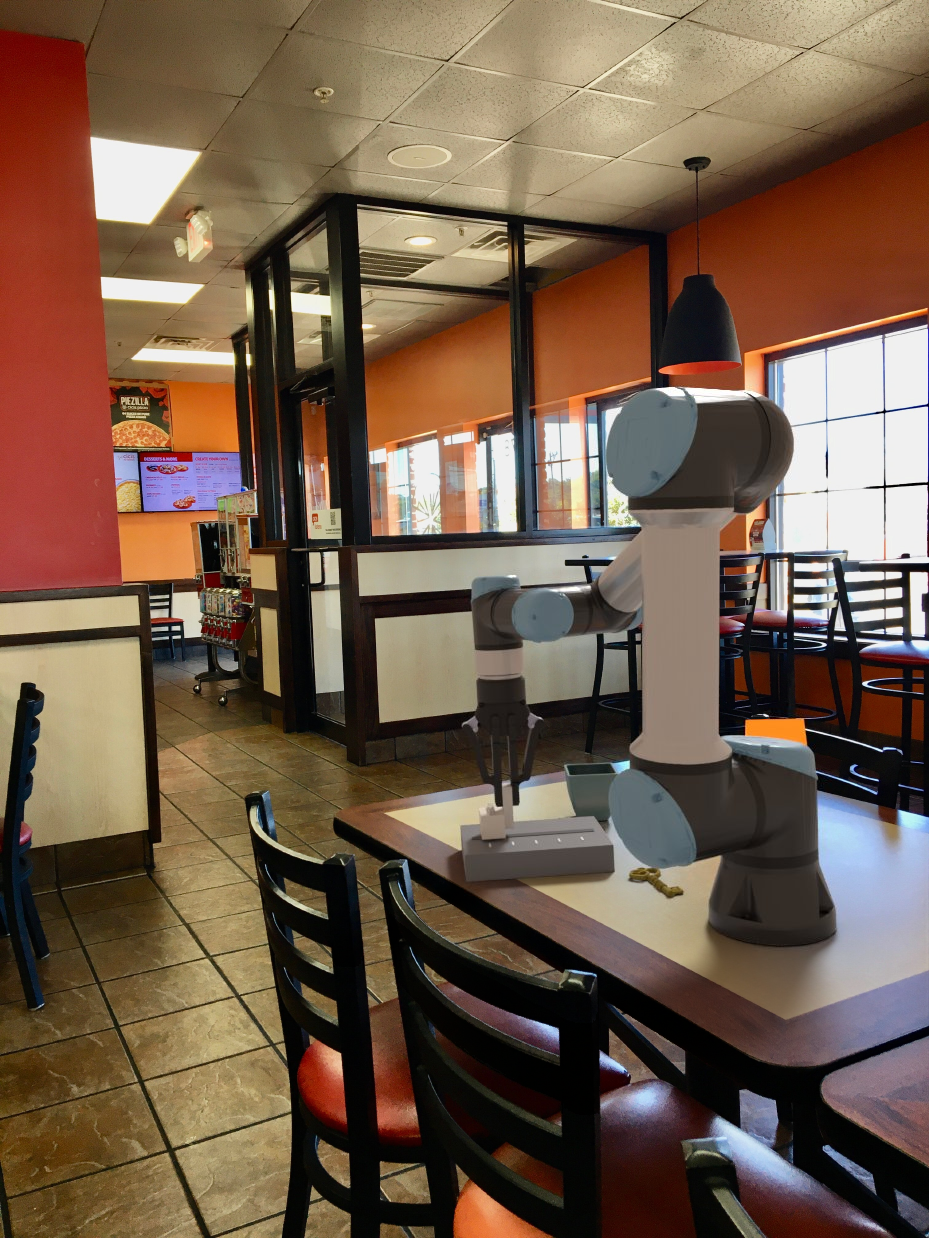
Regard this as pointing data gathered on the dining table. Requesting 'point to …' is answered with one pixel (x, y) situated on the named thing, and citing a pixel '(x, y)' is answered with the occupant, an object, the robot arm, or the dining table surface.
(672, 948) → the dining table surface
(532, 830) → the dimmer console
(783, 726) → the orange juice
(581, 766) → the flower pot
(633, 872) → the key
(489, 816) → the slider cap
